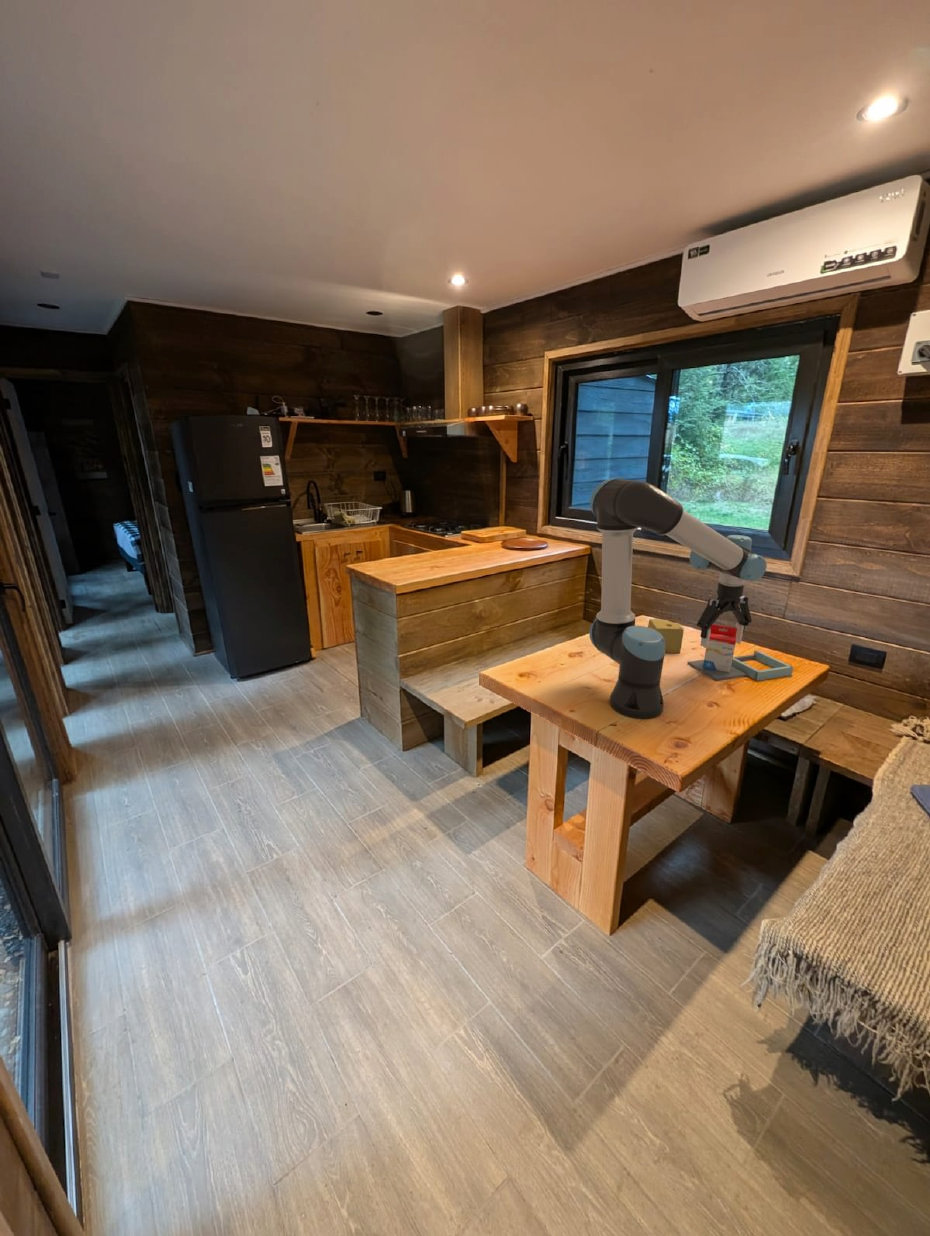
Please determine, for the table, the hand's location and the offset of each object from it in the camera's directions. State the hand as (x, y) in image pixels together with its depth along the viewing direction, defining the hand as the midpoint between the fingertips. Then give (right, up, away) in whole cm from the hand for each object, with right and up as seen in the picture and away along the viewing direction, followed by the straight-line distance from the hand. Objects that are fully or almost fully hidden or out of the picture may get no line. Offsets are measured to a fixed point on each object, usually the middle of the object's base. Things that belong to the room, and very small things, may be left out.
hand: (720, 644), depth 170 cm
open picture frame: (+14, -8, +4) cm, 17 cm away
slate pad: (0, -9, +3) cm, 9 cm away
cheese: (-11, -3, +22) cm, 25 cm away
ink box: (0, -8, +3) cm, 9 cm away
